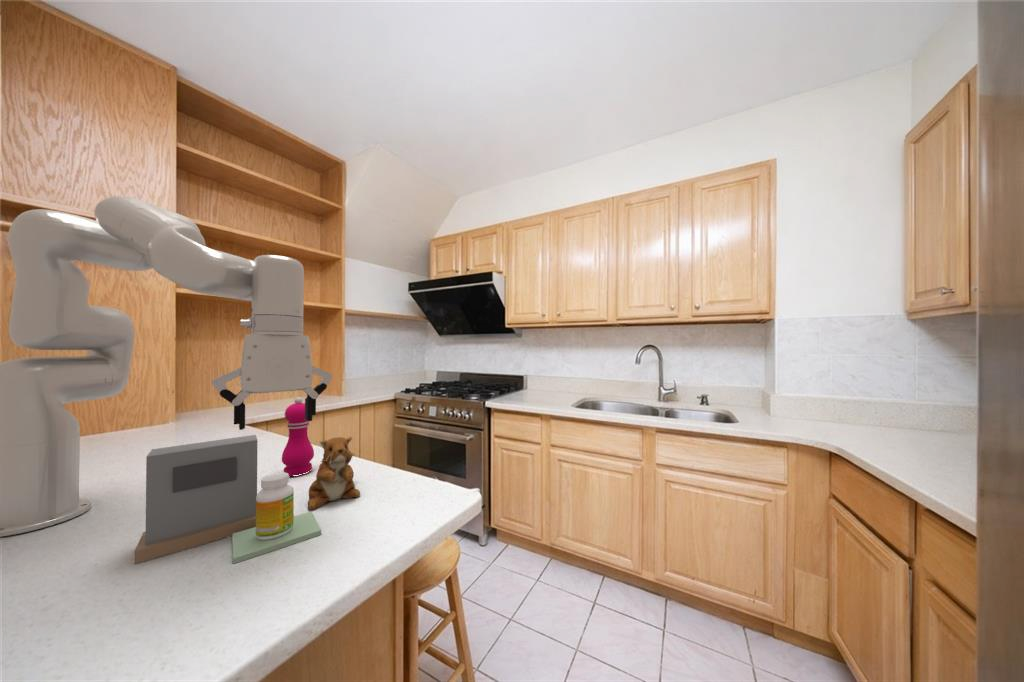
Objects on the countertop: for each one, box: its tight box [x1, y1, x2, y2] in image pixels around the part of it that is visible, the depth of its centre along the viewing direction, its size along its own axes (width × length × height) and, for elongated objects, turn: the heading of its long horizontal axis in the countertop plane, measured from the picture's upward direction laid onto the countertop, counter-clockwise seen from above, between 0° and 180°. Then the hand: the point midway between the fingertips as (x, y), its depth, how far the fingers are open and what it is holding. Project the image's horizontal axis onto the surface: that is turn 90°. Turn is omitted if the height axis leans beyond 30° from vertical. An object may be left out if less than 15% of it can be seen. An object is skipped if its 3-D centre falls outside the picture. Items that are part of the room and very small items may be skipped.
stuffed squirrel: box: [307, 436, 361, 511], centre depth 75 cm, size 10×14×13 cm
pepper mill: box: [281, 396, 315, 476], centre depth 88 cm, size 7×7×20 cm
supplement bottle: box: [256, 472, 295, 540], centre depth 58 cm, size 5×5×10 cm
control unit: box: [133, 434, 258, 565], centre depth 59 cm, size 16×7×16 cm, turn 131°
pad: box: [231, 510, 322, 565], centre depth 58 cm, size 12×9×1 cm
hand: (276, 423), depth 58 cm, fingers open, 9 cm apart
